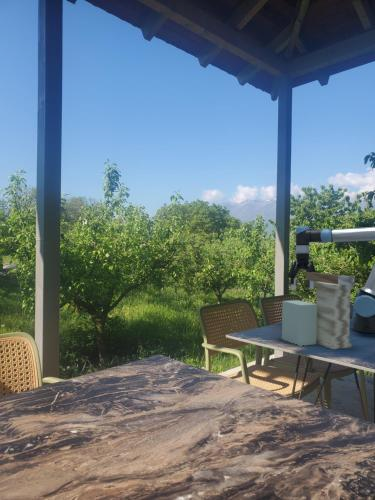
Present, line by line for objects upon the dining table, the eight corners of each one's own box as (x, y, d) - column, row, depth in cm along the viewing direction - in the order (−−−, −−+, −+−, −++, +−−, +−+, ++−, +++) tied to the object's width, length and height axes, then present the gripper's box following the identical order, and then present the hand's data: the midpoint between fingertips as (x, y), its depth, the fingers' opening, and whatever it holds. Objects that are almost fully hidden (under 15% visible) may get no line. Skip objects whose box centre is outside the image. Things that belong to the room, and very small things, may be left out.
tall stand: (330, 340, 201) (332, 281, 201) (352, 347, 189) (354, 284, 188) (312, 342, 197) (313, 282, 196) (332, 349, 184) (334, 285, 183)
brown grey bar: (312, 279, 208) (312, 272, 208) (354, 285, 183) (354, 276, 183) (306, 279, 207) (306, 272, 207) (347, 285, 181) (348, 277, 181)
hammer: (334, 329, 246) (353, 317, 267) (333, 311, 245) (352, 300, 266) (326, 327, 249) (346, 316, 270) (326, 310, 248) (345, 300, 269)
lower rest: (297, 337, 205) (298, 300, 205) (316, 344, 193) (317, 304, 192) (281, 339, 201) (282, 301, 201) (299, 345, 189) (300, 305, 188)
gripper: (314, 252, 238) (314, 288, 238) (281, 253, 227) (281, 289, 227) (323, 252, 231) (323, 289, 231) (289, 253, 221) (289, 291, 221)
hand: (302, 289), depth 229 cm, fingers open, 13 cm apart
